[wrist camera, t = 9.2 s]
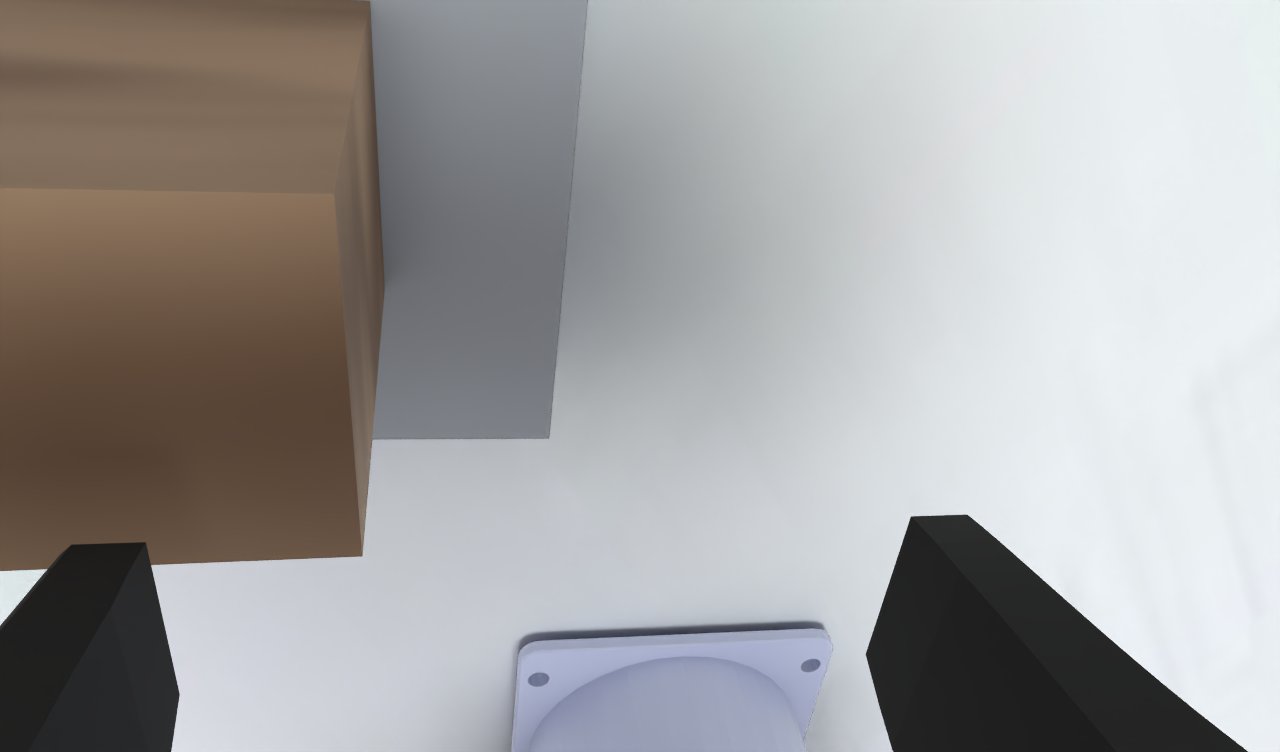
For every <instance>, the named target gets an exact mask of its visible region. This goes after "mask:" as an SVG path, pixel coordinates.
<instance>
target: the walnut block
mask: <svg viewBox="0 0 1280 752" xmlns="http://www.w3.org/2000/svg"><path fill="white" fill-rule="evenodd" d="M384 292H385V283H384V263H383V244H382V224H381V205H380V185H379V166H378V146H377V126H376V107H375V87H374V68H373V48H372V29H371V9H370V1H359V0H0V571H12V570H37V569H48V568H49V567H50V566H51V565H52V563H53V562H54V561H55V560H56V559H57V557H58V556H59V555H60V554H61V553H62V552H63V551H65V550H66V549H67V548H68V547H69V546H70V545H74V544H104V543H134V542H146V545H147V550H148V554H149V559H150V563H151V565H160V564H185V563H209V562H234V561H259V560H283V559H308V558H333V557H357V556H362V554H363V542H364V531H365V519H366V507H367V495H368V483H369V471H370V459H371V447H372V435H373V423H374V411H375V399H376V387H377V376H378V364H379V352H380V340H381V328H382V316H383V304H384Z"/></svg>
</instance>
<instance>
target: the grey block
mask: <svg viewBox="0 0 1280 752" xmlns="http://www.w3.org/2000/svg"><path fill="white" fill-rule="evenodd" d="M359 1H370V9H371V29H372V48H373V68H374V87H375V107H376V126H377V146H378V166H379V185H380V205H381V224H382V244H383V263H384V283H385V292H384V304H383V316H382V328H381V340H380V352H379V364H378V376H377V387H376V399H375V411H374V423H373V435H372V439H546V438H549V436H550V424H551V413H552V401H553V390H554V379H555V367H556V356H557V345H558V333H559V322H560V310H561V299H562V288H563V276H564V265H565V253H566V242H567V231H568V219H569V208H570V196H571V185H572V174H573V162H574V151H575V140H576V128H577V117H578V105H579V94H580V83H581V71H582V60H583V48H584V37H585V26H586V14H587V3H588V0H359Z"/></svg>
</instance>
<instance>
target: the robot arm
mask: <svg viewBox="0 0 1280 752" xmlns="http://www.w3.org/2000/svg"><path fill="white" fill-rule="evenodd" d="M832 651H833V644H832V642H831V639H830V637H829V635H828V633H827V632H826V631H824V630H822V629H815V628H812V629H789V630H767V631H744V632H722V633H699V634H677V635H654V636H632V637H609V638H587V639H564V640H542V641H535V642H531V643H529V644H527V645H525V646H524V647H523V648H522V649H521V650H520V652H519V655H518V666H517V679H516V692H515V705H514V718H513V731H512V745H511V752H807V751H806V748H805V745H804V742H803V740H804V737H805V734H806V731H807V727H808V724H809V721H810V718H811V715H812V712H813V709H814V706H815V703H816V700H817V697H818V694H819V691H820V687H821V684H822V681H823V678H824V675H825V672H826V669H827V666H828V663H829V660H830V657H831V654H832ZM866 657H867V661H868V664H869V668H870V672H871V676H872V679H873V683H874V687H875V691H876V695H877V698H878V702H879V706H880V709H881V713H882V716H883V719H884V723H885V726H886V730H887V733H888V736H889V740H890V743H891V746H892V750H893V752H1248V751H1246V750H1245V749H1244V748H1243V747H1241V746H1240V745H1239V744H1237V743H1236V742H1235V741H1234V740H1232V739H1231V738H1230V737H1229V736H1227V735H1226V734H1225V733H1223V732H1222V731H1221V730H1220V729H1218V728H1217V727H1216V726H1214V725H1213V724H1212V723H1211V722H1209V721H1208V720H1207V719H1205V718H1204V717H1203V716H1202V715H1200V714H1199V713H1198V712H1197V711H1195V710H1194V709H1193V708H1192V707H1190V706H1189V705H1188V704H1187V703H1186V702H1184V701H1183V700H1182V699H1181V698H1179V697H1178V696H1177V695H1176V694H1175V693H1173V692H1172V691H1171V690H1170V689H1168V688H1167V687H1166V686H1165V685H1164V684H1162V683H1161V682H1160V681H1159V680H1158V679H1156V678H1155V677H1154V676H1153V675H1152V674H1150V673H1149V672H1148V671H1147V670H1146V669H1144V668H1143V667H1142V666H1141V665H1140V664H1139V663H1137V662H1136V661H1135V660H1134V659H1133V658H1132V657H1130V656H1129V655H1128V654H1127V653H1126V652H1125V651H1123V650H1122V649H1121V648H1120V647H1119V646H1118V645H1116V644H1115V643H1114V642H1113V641H1112V640H1111V639H1109V638H1108V637H1107V636H1106V635H1105V634H1104V633H1102V632H1101V631H1100V630H1099V629H1098V628H1097V627H1096V626H1094V625H1093V624H1092V623H1091V622H1090V621H1089V620H1088V619H1086V618H1085V617H1084V616H1083V615H1082V614H1081V613H1080V612H1078V611H1077V610H1076V609H1075V608H1074V607H1073V606H1072V605H1071V604H1069V603H1068V602H1067V601H1066V600H1065V599H1064V598H1063V597H1062V596H1060V595H1059V594H1058V593H1057V592H1056V591H1055V590H1054V589H1052V588H1051V587H1050V586H1049V585H1048V584H1047V583H1046V582H1045V581H1043V580H1042V579H1041V578H1040V577H1039V576H1038V575H1037V574H1036V573H1034V572H1033V571H1032V570H1031V569H1030V568H1029V567H1028V566H1027V565H1025V564H1024V563H1023V562H1022V561H1021V560H1020V559H1019V558H1018V557H1016V556H1015V555H1014V554H1013V553H1012V552H1011V551H1010V550H1008V549H1007V548H1006V547H1005V546H1004V545H1003V544H1002V543H1000V542H999V541H998V540H997V539H996V538H995V537H993V536H992V535H991V534H990V533H989V532H988V531H986V530H985V529H984V528H983V527H982V526H980V525H979V524H978V523H977V522H976V521H974V520H973V519H972V518H971V517H969V516H968V515H944V516H914V517H911V518H910V521H909V525H908V528H907V531H906V534H905V537H904V540H903V543H902V546H901V549H900V552H899V555H898V558H897V561H896V564H895V567H894V570H893V573H892V576H891V579H890V582H889V585H888V588H887V591H886V594H885V597H884V600H883V603H882V607H881V610H880V613H879V616H878V619H877V622H876V625H875V628H874V631H873V634H872V637H871V640H870V643H869V646H868V649H867V652H866ZM539 672H541V673H539ZM534 673H538V674H534ZM179 695H180V694H179V690H178V685H177V681H176V676H175V672H174V667H173V663H172V658H171V654H170V649H169V645H168V640H167V635H166V631H165V626H164V622H163V617H162V613H161V608H160V604H159V599H158V595H157V590H156V586H155V581H154V577H153V572H152V568H151V563H150V559H149V554H148V550H147V545H146V542H134V543H104V544H74V545H70V546H69V547H68V548H67V549H66V550H65V551H63V552H62V553H61V554H60V555H59V556H58V557H57V559H56V560H55V561H54V562H53V563H52V565H51V566H50V567H49V568H48V569H47V571H46V572H45V573H44V574H43V575H42V577H41V578H40V579H39V580H38V581H37V583H36V584H35V585H34V586H33V587H32V589H31V590H30V591H29V592H28V593H27V595H26V596H25V597H24V598H23V599H22V601H21V602H20V603H19V604H18V605H17V607H16V608H15V609H14V610H13V611H12V613H11V614H10V615H9V616H8V617H7V619H6V620H5V621H4V622H3V623H2V624H1V626H0V752H171V748H172V742H173V735H174V728H175V722H176V715H177V708H178V702H179Z"/></svg>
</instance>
